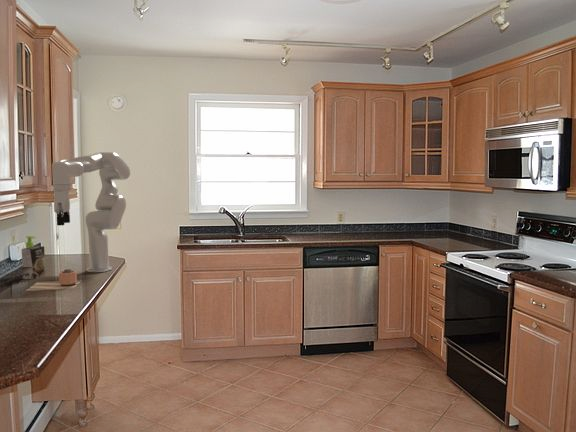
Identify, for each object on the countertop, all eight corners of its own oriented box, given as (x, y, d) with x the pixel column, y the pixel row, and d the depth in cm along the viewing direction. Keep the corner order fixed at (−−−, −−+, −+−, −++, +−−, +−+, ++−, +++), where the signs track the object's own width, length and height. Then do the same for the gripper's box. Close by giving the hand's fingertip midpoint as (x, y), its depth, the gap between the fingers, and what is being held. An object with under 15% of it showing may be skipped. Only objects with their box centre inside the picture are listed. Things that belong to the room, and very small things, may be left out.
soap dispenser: (30, 276, 266) (28, 237, 264) (22, 275, 269) (20, 236, 267) (41, 274, 271) (39, 235, 269) (33, 272, 274) (31, 234, 272)
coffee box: (34, 282, 254) (32, 249, 252) (22, 281, 255) (20, 248, 253) (46, 278, 263) (44, 246, 261) (35, 277, 264) (33, 245, 262)
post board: (37, 285, 248) (36, 267, 247) (81, 283, 251) (81, 266, 250) (25, 293, 232) (24, 274, 231) (73, 292, 235) (72, 273, 234)
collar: (62, 281, 245) (61, 270, 244) (78, 280, 246) (77, 270, 245) (58, 284, 238) (57, 274, 237) (74, 284, 239) (73, 273, 239)
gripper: (58, 187, 256) (60, 222, 258) (47, 189, 239) (49, 226, 241) (74, 187, 257) (76, 221, 259) (65, 189, 240) (67, 226, 242)
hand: (63, 224), depth 250 cm, fingers open, 9 cm apart
